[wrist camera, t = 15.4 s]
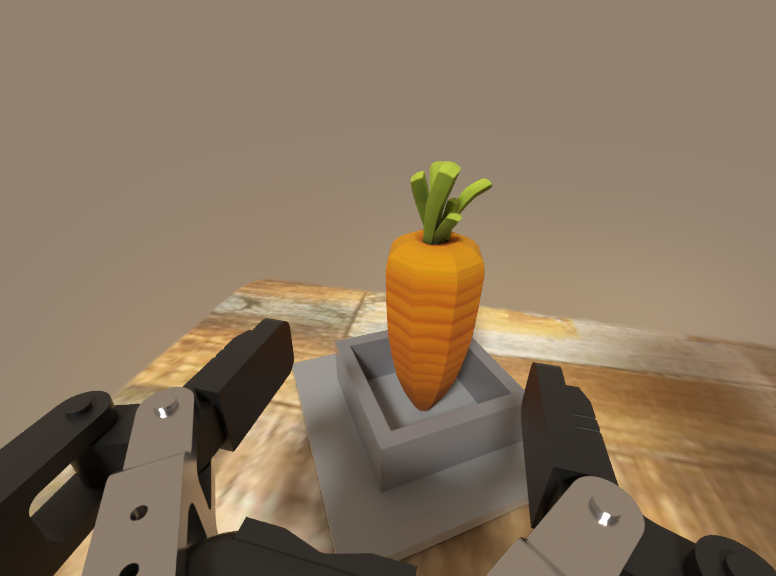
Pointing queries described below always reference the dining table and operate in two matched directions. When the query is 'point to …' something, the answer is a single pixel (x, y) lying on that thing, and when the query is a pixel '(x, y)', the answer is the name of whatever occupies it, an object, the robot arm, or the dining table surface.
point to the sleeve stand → (409, 448)
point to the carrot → (433, 289)
